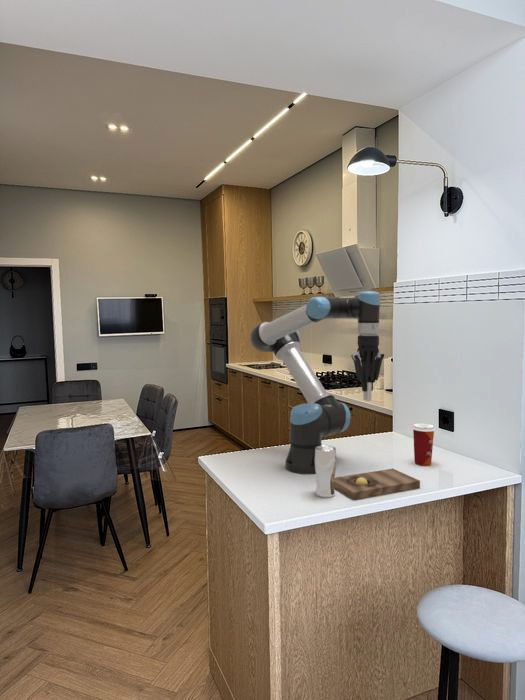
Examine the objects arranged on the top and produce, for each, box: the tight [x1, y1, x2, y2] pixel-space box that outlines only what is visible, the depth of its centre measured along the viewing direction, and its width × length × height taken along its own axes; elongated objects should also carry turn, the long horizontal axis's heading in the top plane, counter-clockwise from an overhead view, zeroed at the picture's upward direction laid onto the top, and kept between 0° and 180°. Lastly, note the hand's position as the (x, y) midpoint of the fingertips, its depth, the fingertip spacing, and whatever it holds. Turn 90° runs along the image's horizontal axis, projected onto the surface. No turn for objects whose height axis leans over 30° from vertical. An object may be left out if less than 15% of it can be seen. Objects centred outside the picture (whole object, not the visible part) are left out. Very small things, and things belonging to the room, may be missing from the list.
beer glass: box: [314, 444, 337, 499], centre depth 156 cm, size 7×7×15 cm
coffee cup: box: [412, 422, 436, 467], centre depth 188 cm, size 8×8×15 cm
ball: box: [355, 477, 368, 485], centre depth 161 cm, size 4×4×4 cm
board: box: [334, 468, 421, 501], centre depth 163 cm, size 26×14×2 cm, turn 114°
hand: (367, 400), depth 177 cm, fingers closed
